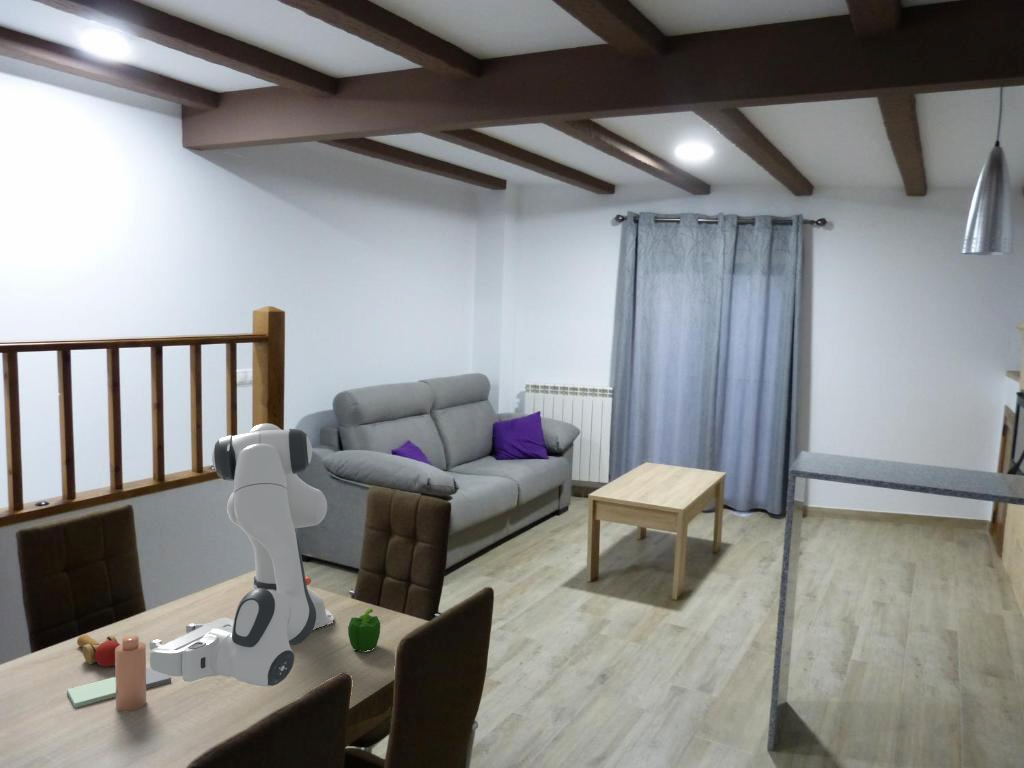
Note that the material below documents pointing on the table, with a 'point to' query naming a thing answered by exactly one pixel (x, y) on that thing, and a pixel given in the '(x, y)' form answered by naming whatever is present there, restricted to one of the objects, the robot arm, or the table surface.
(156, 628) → the table surface
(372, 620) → the bell pepper
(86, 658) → the kendama
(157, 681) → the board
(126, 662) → the bottle
